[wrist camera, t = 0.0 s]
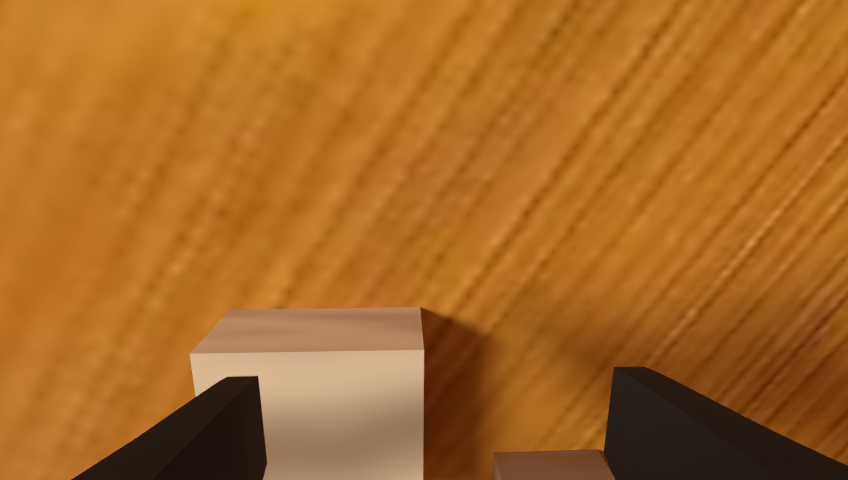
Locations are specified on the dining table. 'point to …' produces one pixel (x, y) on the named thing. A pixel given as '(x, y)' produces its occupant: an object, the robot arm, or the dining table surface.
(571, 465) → the walnut block
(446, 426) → the dining table surface
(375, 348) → the base block
